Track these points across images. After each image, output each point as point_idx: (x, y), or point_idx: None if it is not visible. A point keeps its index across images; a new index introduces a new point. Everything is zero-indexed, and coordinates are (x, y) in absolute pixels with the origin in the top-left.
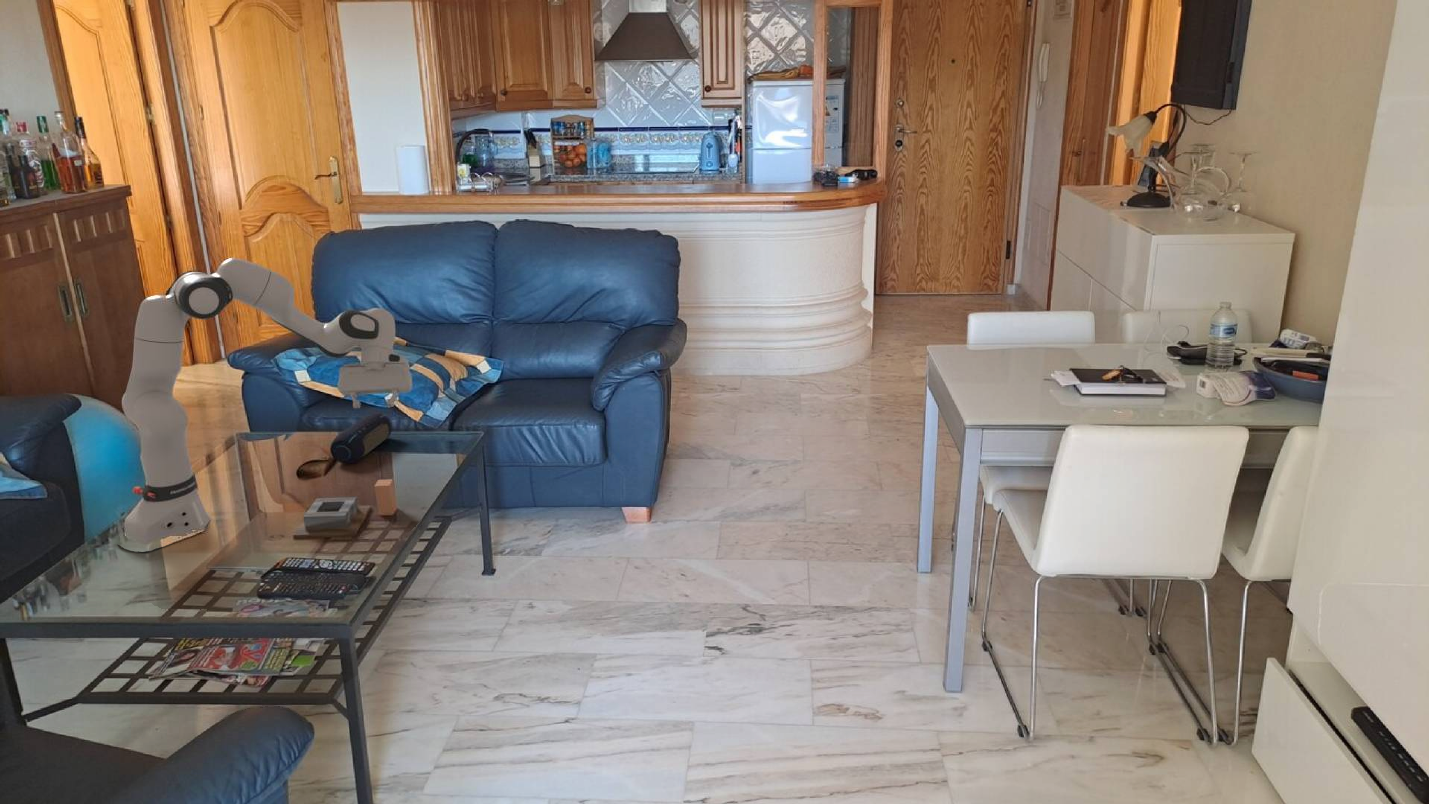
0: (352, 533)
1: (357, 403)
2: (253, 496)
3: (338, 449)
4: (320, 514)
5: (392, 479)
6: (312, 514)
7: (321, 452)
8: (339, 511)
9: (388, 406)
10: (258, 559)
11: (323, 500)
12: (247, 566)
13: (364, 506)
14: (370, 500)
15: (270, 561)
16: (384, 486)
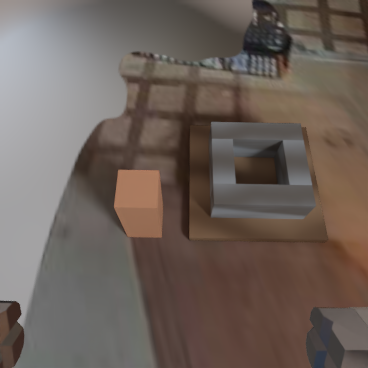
0: (193, 126)
1: (335, 322)
2: None
3: None
4: (267, 129)
5: (114, 206)
6: (285, 131)
7: None
8: (230, 138)
9: (17, 328)
10: (325, 77)
11: (293, 193)
12: (330, 62)
13: (203, 234)
14: (204, 288)
15: (301, 70)
16: (131, 171)
